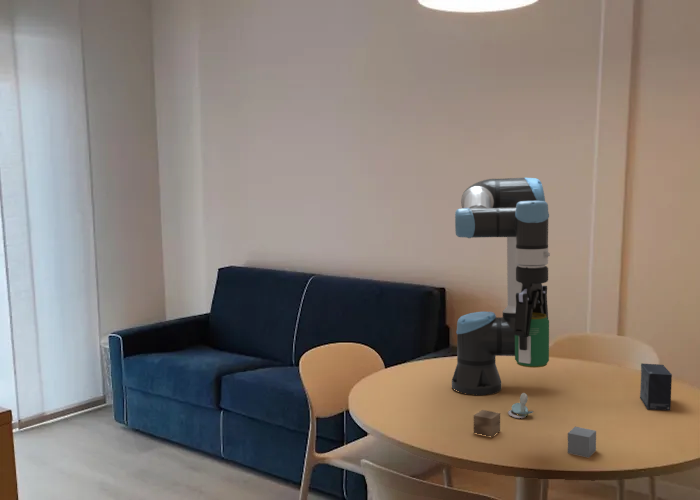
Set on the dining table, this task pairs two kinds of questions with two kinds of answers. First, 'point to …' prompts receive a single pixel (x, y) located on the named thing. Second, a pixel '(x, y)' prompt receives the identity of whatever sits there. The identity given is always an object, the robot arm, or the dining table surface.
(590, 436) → the slate block
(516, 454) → the dining table surface
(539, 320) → the beverage can
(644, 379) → the small box
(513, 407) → the pacifier
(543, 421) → the dining table surface
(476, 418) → the walnut block
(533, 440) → the dining table surface
